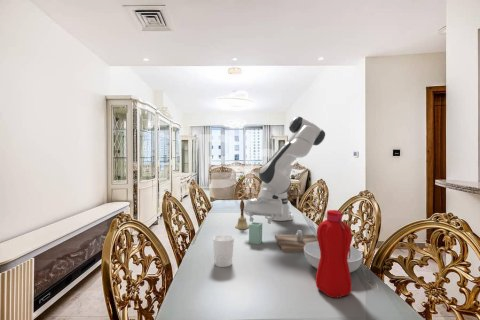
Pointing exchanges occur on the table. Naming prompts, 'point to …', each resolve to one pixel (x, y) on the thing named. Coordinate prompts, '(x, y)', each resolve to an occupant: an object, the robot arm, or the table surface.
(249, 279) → the table surface
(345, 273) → the water bottle
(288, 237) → the board
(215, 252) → the white cup
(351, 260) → the serving bowl
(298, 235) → the post
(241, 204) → the hand bell
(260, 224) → the sleeve
